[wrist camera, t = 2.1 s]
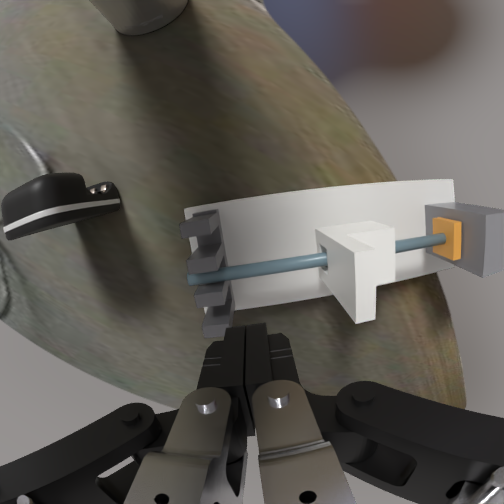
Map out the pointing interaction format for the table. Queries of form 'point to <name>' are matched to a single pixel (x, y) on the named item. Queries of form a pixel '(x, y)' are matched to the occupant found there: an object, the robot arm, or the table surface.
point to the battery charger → (55, 203)
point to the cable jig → (308, 260)
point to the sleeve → (357, 264)
